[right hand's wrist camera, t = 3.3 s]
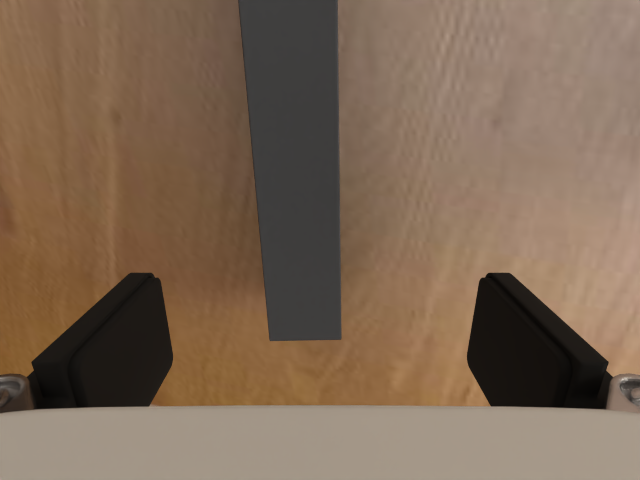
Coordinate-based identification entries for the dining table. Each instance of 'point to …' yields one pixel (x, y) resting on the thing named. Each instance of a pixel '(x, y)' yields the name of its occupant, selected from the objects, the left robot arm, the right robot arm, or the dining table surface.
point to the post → (296, 161)
